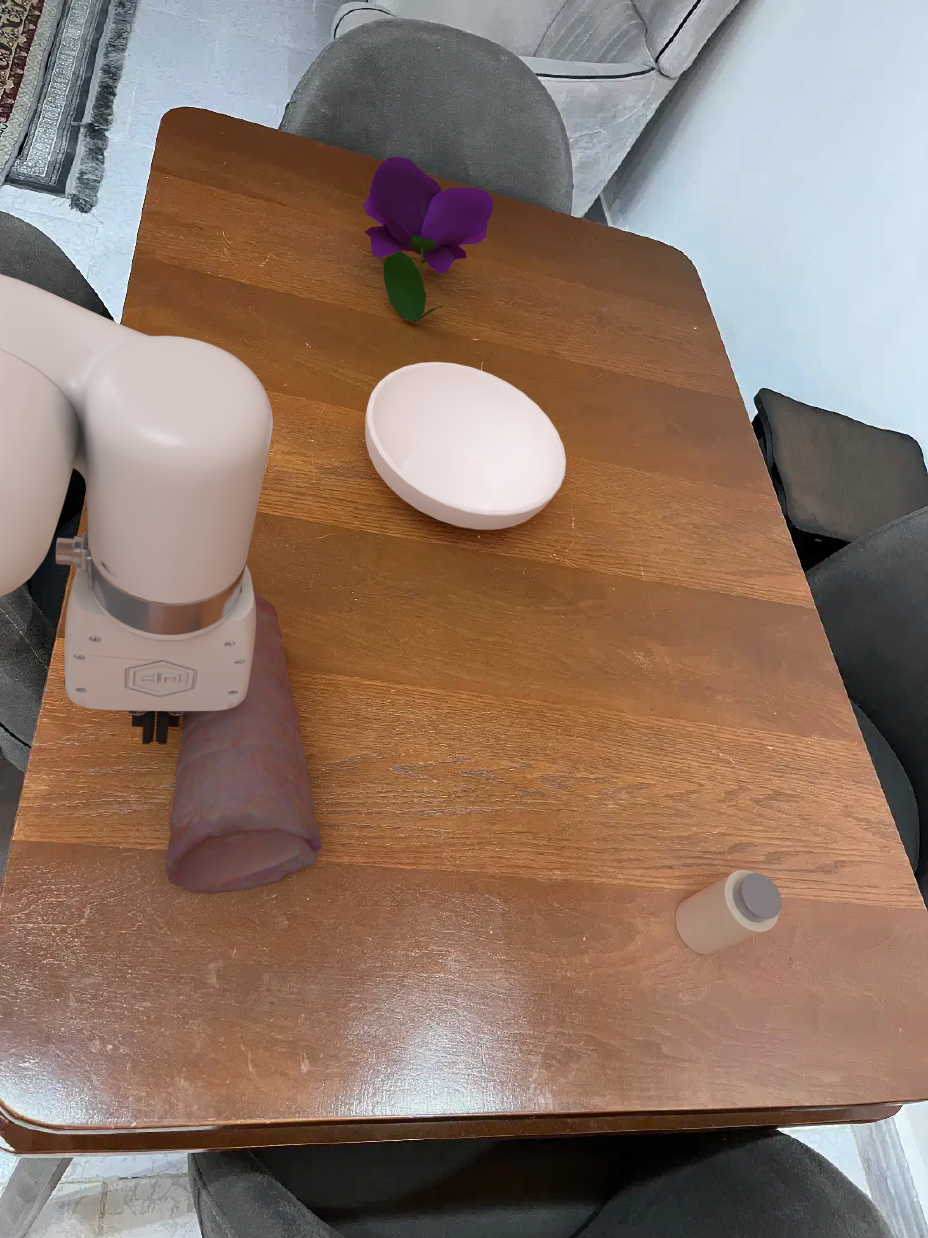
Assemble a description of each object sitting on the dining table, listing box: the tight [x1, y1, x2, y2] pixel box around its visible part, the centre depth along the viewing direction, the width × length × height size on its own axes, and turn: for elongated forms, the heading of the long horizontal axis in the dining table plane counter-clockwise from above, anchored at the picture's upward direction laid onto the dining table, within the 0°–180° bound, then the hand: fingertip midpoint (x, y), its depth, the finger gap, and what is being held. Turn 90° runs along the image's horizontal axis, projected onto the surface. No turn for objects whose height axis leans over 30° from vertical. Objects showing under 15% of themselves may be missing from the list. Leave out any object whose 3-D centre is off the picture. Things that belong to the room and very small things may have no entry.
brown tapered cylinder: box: [165, 590, 322, 894], centre depth 58 cm, size 21×9×9 cm, turn 14°
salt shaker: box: [674, 869, 783, 956], centre depth 62 cm, size 4×4×8 cm
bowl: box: [364, 361, 567, 531], centre depth 81 cm, size 20×20×7 cm
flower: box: [362, 156, 494, 324], centre depth 95 cm, size 15×15×14 cm
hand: (155, 724), depth 57 cm, fingers closed
